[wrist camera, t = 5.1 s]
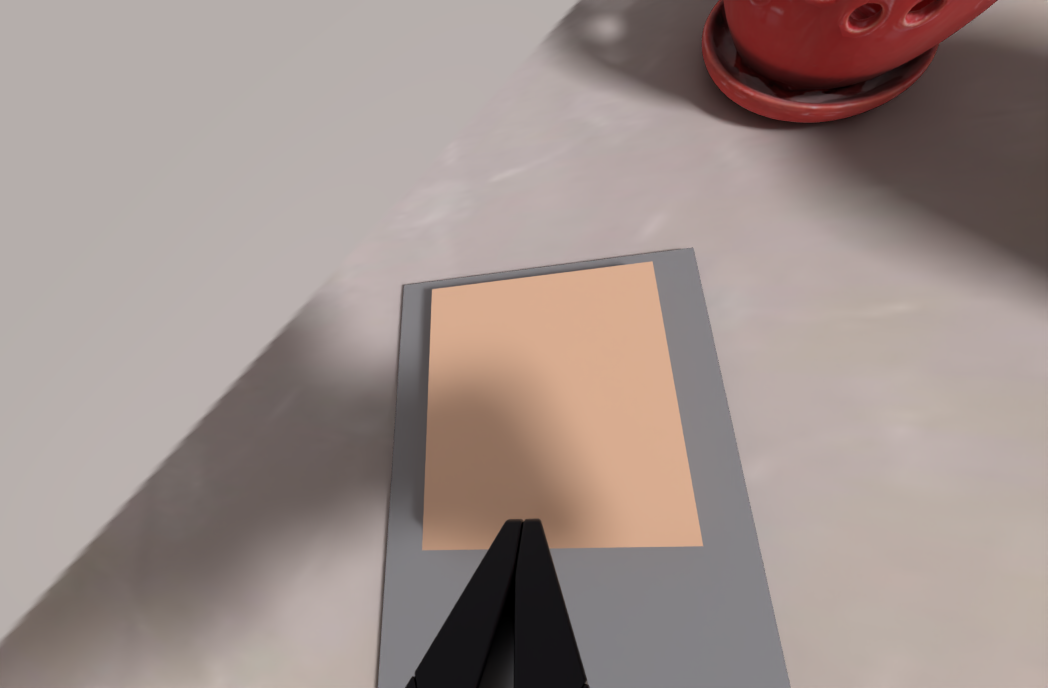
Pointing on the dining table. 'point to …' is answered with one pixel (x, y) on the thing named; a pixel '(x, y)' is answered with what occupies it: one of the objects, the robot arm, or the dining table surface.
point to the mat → (605, 573)
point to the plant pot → (825, 52)
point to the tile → (555, 414)
